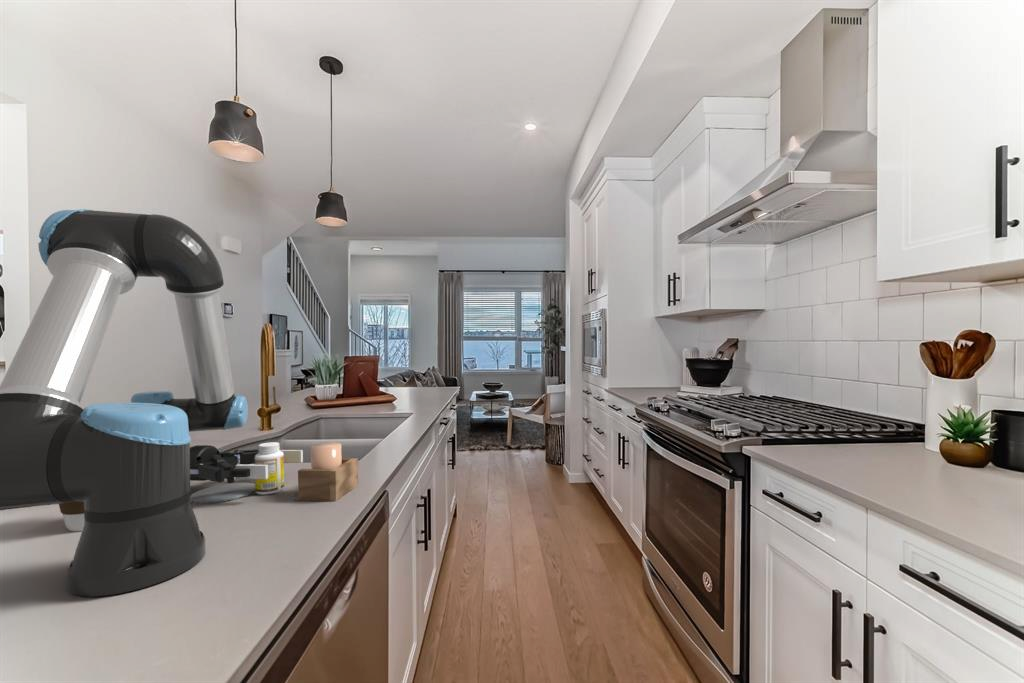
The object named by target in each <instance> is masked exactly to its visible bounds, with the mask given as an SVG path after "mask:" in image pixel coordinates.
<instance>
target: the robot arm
mask: <svg viewBox="0 0 1024 683" xmlns="http://www.w3.org/2000/svg"><path fill="white" fill-rule="evenodd" d="M39 229H40V230H39V233H38V238H39V239H40V241H39V242H38V243H37V244H38V246H37V247H38V252H39V256H40V258H41V260H42V262H43V264H44V265H45V266H46V267H47V269H48V272H49V273H50V274H51V276H52V279H51V281H50V283H49V285H48V286H47V288H46V290H45V293H44V295H43V297H42V299H41V301H40V303H39V306H38V307H37V309H36V310H35V314H34V315H33V318H32V319H31V322H30V324H29V326H28V328H27V330H26V332H25V334H24V336H23V338H22V340H21V342H20V344H19V346H18V348H17V350H16V352H15V354H14V357H13V358H12V360H11V363H10V365H9V367H8V369H7V370H6V372H5V374H4V377H3V379H2V381H1V383H0V511H7V510H15V509H25V508H32V507H39V506H50V505H59V504H61V503H70V502H79V501H82V502H84V528H83V531H81V535H80V537H79V540H78V542H77V545H76V546H77V547H76V549H75V553H74V556H73V560H72V561H71V562H70V563H69V566H68V568H67V572H66V590H67V591H68V593H70V594H72V595H76V596H80V597H104V596H111V595H117V594H118V595H119V594H123V593H129V592H132V591H133V592H134V591H135V590H140V589H144V588H147V587H150V586H154V585H157V584H159V583H162V582H164V581H168V580H169V579H172V578H174V577H177V576H178V575H180V574H183V573H185V572H186V571H189V570H190V569H192V568H194V566H196V565H197V564H199V563H200V561H202V560H203V558H204V557H205V555H206V538H205V535H204V533H203V531H201V529H200V527H199V524H198V520H197V517H196V515H195V513H194V510H193V507H192V505H191V503H192V502H191V501H190V496H191V481H194V482H196V481H197V482H198V481H199V482H201V481H202V482H203V481H204V482H205V481H210V482H216V483H223V482H225V479H226V480H227V481H226V484H229V483H235V479H236V480H255V479H267V478H268V465H255V455H256V454H258V453H259V451H258V449H259V448H255V449H254V448H253V449H235V450H233V451H231V452H230V451H224V452H223V451H222V452H220V451H219V449H218V448H217V447H215V445H211V444H209V445H208V444H206V445H205V444H204V445H203V444H202V445H195V444H190V443H191V441H192V438H191V437H192V436H191V435H190V433H191V432H203V431H204V432H205V431H206V432H207V431H218V430H219V431H222V430H223V431H225V430H233V429H240V428H243V426H245V425H246V423H247V420H248V415H249V406H248V401H247V398H246V397H245V396H244V395H235V388H234V381H233V374H232V369H231V368H232V367H231V361H230V354H229V349H228V343H227V334H226V329H225V322H224V315H223V309H222V304H221V296H220V290H222V289H223V288H224V286H225V284H224V277H223V271H222V268H221V267H222V266H220V263H219V260H218V258H217V257H216V255H215V253H214V251H213V250H212V249H211V247H210V245H209V244H208V243H207V242H206V241H205V240H204V239H203V238H202V236H201V235H200V234H199V233H197V232H196V231H195V230H194V229H192V228H191V227H190V226H188V225H187V224H186V223H184V222H182V221H180V220H178V219H176V218H173V217H171V216H167V215H161V214H153V213H152V214H145V213H133V212H132V213H131V212H121V211H120V212H119V211H117V212H116V211H106V210H105V211H104V210H93V209H87V208H85V209H84V208H82V209H63V210H62V209H61V210H58V211H56V212H53V213H51V214H50V215H49V216H48V217H47V218H46V219H44V222H43V223H42V225H41V228H39ZM138 277H142V278H143V277H148V278H149V277H150V278H151V277H153V278H155V277H156V278H159V277H160V278H162V279H163V280H164V282H165V287H166V290H167V291H168V292H170V293H171V294H173V295H174V300H175V303H176V304H175V305H176V309H177V314H178V318H179V319H178V320H179V323H180V328H181V333H182V334H181V335H182V339H183V344H184V349H185V354H186V359H187V364H188V369H189V375H190V379H191V383H192V389H193V394H194V398H175V397H174V394H173V392H172V391H170V390H156V391H155V390H152V391H142V392H137V393H134V394H133V395H132V396H131V399H130V402H104V403H103V402H102V403H95V404H90V405H86V406H85V407H84V406H83V405H82V404H81V401H82V398H83V395H84V392H85V389H86V388H87V384H88V381H89V380H90V379H89V378H90V375H91V373H92V370H93V367H94V364H95V362H96V359H97V357H98V354H99V351H100V348H101V347H102V346H101V345H102V342H103V340H104V337H105V335H106V333H107V332H106V331H107V329H108V326H109V324H110V320H111V318H112V315H113V312H114V310H115V307H116V304H117V302H118V299H119V296H120V295H123V294H126V293H128V292H129V291H131V290H132V289H133V288H134V287H135V283H136V280H137V278H138ZM279 449H280V450H279V451H282V452H283V454H284V464H285V463H291V464H293V463H295V464H296V463H297V464H298V463H299V464H301V463H303V462H304V456H303V455H304V450H303V449H281V447H280V448H279ZM238 463H239V464H238Z"/></svg>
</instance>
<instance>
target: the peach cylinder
mask: <svg viewBox="0 0 1024 683" xmlns="http://www.w3.org/2000/svg"><path fill="white" fill-rule="evenodd" d="M342 458H343V456H342V443H340V442H337V441H336V442H335V441H334V442H333V441H332V442H331V441H330V442H329V441H328V442H321V443H317V444H313V445H311V446H310V469H334V468H336V467H338V466H340V465H341V464H342Z"/></svg>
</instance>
